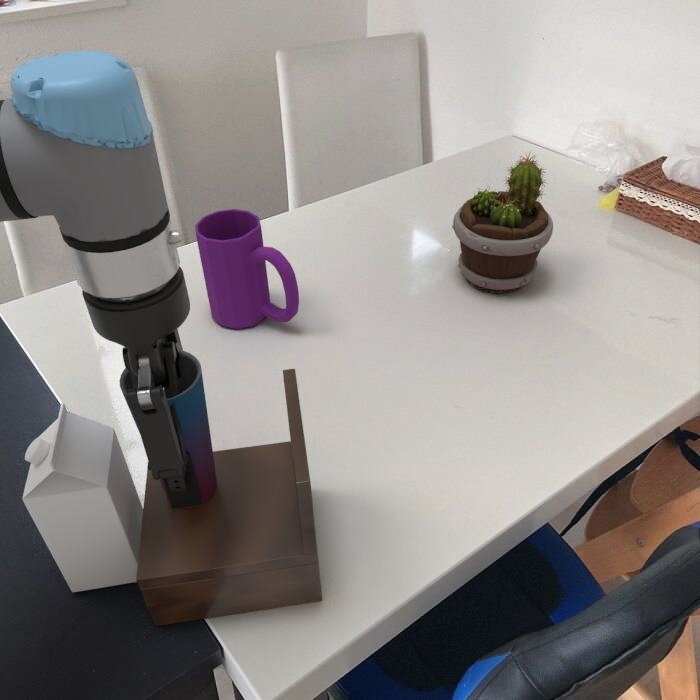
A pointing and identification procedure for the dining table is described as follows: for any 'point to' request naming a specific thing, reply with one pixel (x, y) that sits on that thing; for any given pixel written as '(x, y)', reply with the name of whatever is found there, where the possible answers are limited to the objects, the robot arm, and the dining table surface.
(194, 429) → the cup
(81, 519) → the milk carton
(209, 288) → the mug
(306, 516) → the wooden box with backboard
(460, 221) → the flowerpot
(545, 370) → the dining table surface
